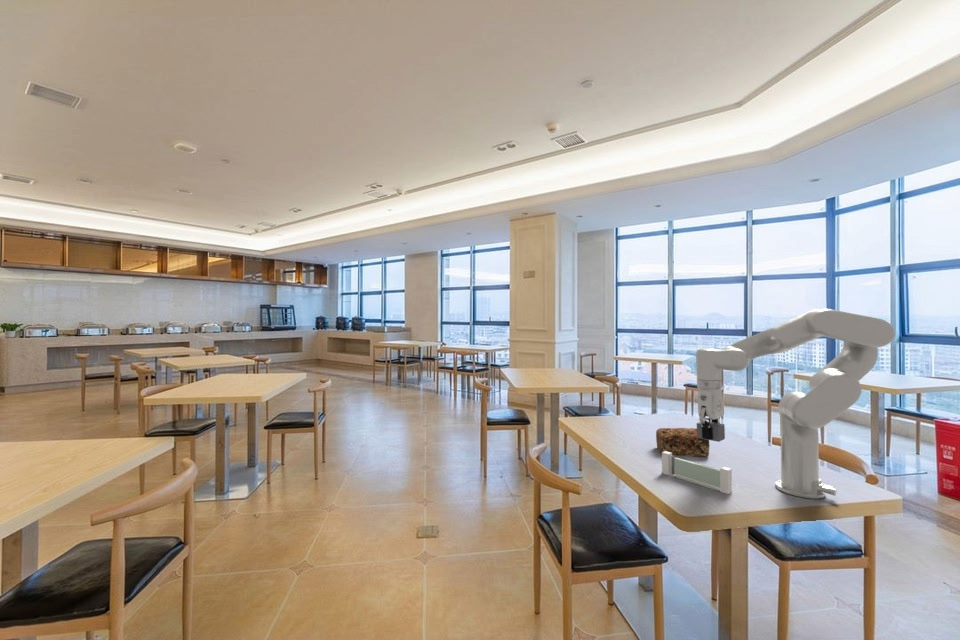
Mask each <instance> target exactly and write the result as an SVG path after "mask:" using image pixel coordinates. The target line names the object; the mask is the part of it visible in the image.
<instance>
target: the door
mask: <svg viewBox="0 0 960 640" xmlns="http://www.w3.org/2000/svg"><path fill="white" fill-rule="evenodd" d="M675 456H676V455H672V456H671V474H670V475H672V476H674V475H679V476H682V477H685V478H688V479H692V480H695V481H698V482H701V483H704V484H708V485H711V486H714V487H717V488H720V468H715V467H711V466H707V465H704V464H699V463H698V462H695V461H694V462H693V461H690V460H686V459H682V458H679V457H675Z"/></svg>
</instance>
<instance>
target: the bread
mask: <svg viewBox="0 0 960 640" xmlns="http://www.w3.org/2000/svg"><path fill="white" fill-rule="evenodd" d="M655 439H656V447H657V449H658V451H659V452H660V454H661V455H662V452H664V451H667V452H671V453H672V456H683V457H698V458H699V457H700V458H701V457H702V458H703V457H709V454H710V446H711V445H710V440H707V439H701V438H697V427H696V428H693V427H687V428H686V427H662V428H661V427H659V428H658V429H656V432H655Z"/></svg>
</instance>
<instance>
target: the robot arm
mask: <svg viewBox="0 0 960 640" xmlns="http://www.w3.org/2000/svg"><path fill="white" fill-rule="evenodd" d="M895 335H896V331H895V328H894V326H893V325H892V324H891V323H890V322H889V321H886V320H884V319H883V318H878V317H874V316H873V317H872V316H867V315H861V314H856V313H852V312H847V311H846V312H845V311H841V310H837V309H833V308H832V309H831V308H822V309H821V308H819V309H818V308H817V309H812V310H809V311H807V312H804V313H802V314H799V315H797V316H794V317H793V318H790V319H788V320H786V321H784V322H782V323H779V324H778V325H775V326H773V327H770V328H768V329H766V330H762V331H761V332H758V333H756V334H754V335H752V336H749V337H746V338H744V339H741V340H739V341H736V342H734V343H733V344H730V345H728V346H726V347H723V348H722V349H716V348H699V349H697V350H696V352H695V360H696V361H695V365H696V367H695V368H696V387H697V389H698V394H697V396H698V397H697V413H698V420H699V422H701V426H702V438H704V439H709V441H712V439H713V429H712V428H711V424H712V422H714V423H720V424H721V421H720V419H721V418H722V417H724V415H725V407H724V406H725V405H724V396H723V391H722V390H723V382H722V378H723V376H722V370H723V371H724V370H725V371H731V372H740V371H743V370H745V369H747V368H748V367H749V365H750V361H752V360H754V359H757V358H760V357H764V356H766V355H767V356H768V355H775V354H781V353H784V352H789V351H790V350H793V349H795V348H797V347H799V346H801V345H804V344H806V343H809V342H811V341H814V340H816V339H819V338H821V337H826V338H829V339H834V340H838V341H840V342H841V341H843V343H842V344H843V345H842V349H841V351H840V352H839V353H838V354H837V356H835V357H834V358H833V359H832V360H831V361H829V363H827V364H826V365H824V366H823V367H822V368H821V369H820V370H819V371H817V372H815V373H814V374H813V375H812V376H811V377H810V379H809V382H808V386H809V389H810V391H808V393H805V392H803V391H802V392H801V391H791V392H787V393H785V394H784V395H783V396H782V397H781V398H780V400H779V403H778V414H779V420H780V421H779V422H780V479H778V480H776V481H775V482H774V483H775V488H776V489H777V490H779V491H781V492H782V493H786V494H788V495H792V496H796V497H799V498H806V499H815V500H816V499H818V500H819V499H823V498H825V497H826V494H827V495H830V496H836V495H837V489H835V488H834V486H831V485H827V484H824V483H823V479H822V478H819V473H820V472H819V470H820V469H819V468H820V467H819V465H820V464H819V454H820V453H819V444H820V443H819V442H820V441H819V440H820V439H819V429H821V428H823V427H825V426H827V425H828V424H830V423H831V422H833V421H834V420H835V419H836V418H838V417H839V416H840V415H841V414H843V413H844V412H846V411H847V410H849V408H851V407H852V406H853V405H854V404H856V403H857V401H858V400H859V399H860V397H861V395H862V392H863V391H862V389H863V388H862V386H861V383H860V380H862V379H863V378H864V377H865V376H867V374H869V373H870V371H872V370H873V368H874V367H875V366H876V363H877V360H878V353H879V352H878V351H879V349H878V348H882V347H885V346H887V345H889V344H891V342H892V341H893V340H894V338H895Z"/></svg>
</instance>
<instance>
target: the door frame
mask: <svg viewBox="0 0 960 640" xmlns="http://www.w3.org/2000/svg"><path fill="white" fill-rule="evenodd" d="M671 456H673V455H672V453H671V452H667V451H664V452H662V454H661V473H662V474H664V475H668V476H670V475H672V474H671ZM719 470H720V488H717V487H714V486H711V485H708V484H704V483H701V482H698V481H695V480H692V479H688V478H685V477H682V476H679V475H676V474H675V475H673V477H674V478H676V479H680V480H683V481H686V482H689V483H692V484H696V485H698V486H699V485H700V486H703V487H705V488H709V489H712V490H714V491H718V492H720V493H724V494H727V495H729V494H731V493H732V492H733V487H732V486H733V483H732V480H733V477H732V472H733V468H730V467H726V466H722V467H720V468H719Z"/></svg>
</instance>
